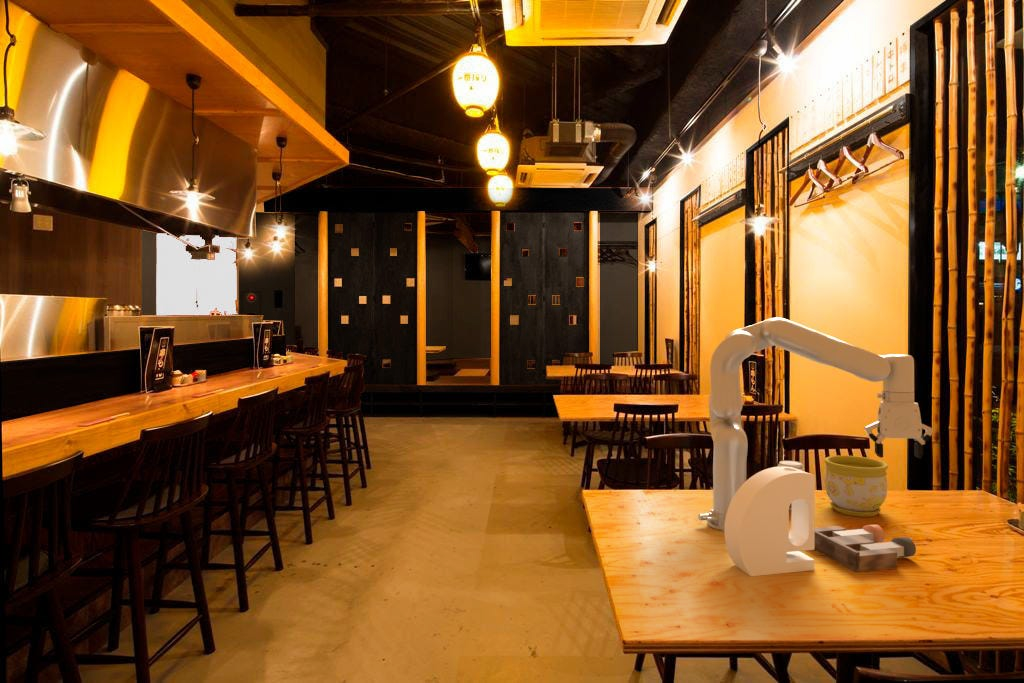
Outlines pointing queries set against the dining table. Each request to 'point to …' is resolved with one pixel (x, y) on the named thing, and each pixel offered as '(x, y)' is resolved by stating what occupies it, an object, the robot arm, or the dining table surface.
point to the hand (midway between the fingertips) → (898, 457)
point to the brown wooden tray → (852, 551)
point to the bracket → (772, 522)
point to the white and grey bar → (894, 546)
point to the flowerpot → (856, 484)
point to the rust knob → (864, 533)
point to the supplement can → (794, 465)
